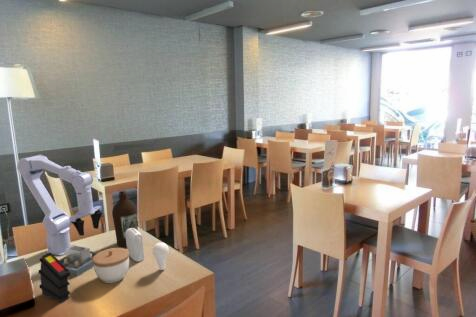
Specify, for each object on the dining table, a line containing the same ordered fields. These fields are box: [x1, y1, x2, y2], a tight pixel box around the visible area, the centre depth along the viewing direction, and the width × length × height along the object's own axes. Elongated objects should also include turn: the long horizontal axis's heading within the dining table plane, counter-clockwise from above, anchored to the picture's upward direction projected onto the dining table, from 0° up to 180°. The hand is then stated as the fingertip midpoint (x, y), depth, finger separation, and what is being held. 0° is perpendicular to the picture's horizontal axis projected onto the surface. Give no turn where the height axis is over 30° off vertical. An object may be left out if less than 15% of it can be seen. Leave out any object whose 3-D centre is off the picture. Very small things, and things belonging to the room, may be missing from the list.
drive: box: [64, 244, 91, 266], centre depth 133 cm, size 9×4×6 cm, turn 67°
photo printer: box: [125, 228, 145, 262], centre depth 138 cm, size 10×4×12 cm, turn 39°
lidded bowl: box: [92, 247, 130, 284], centre depth 122 cm, size 13×13×11 cm
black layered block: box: [38, 253, 72, 303], centre depth 112 cm, size 4×13×15 cm, turn 60°
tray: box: [58, 250, 98, 277], centre depth 134 cm, size 14×14×4 cm
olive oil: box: [111, 189, 139, 248], centre depth 151 cm, size 11×11×25 cm
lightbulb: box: [152, 242, 170, 271], centre depth 127 cm, size 6×6×11 cm
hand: (88, 231), depth 142 cm, fingers open, 7 cm apart
